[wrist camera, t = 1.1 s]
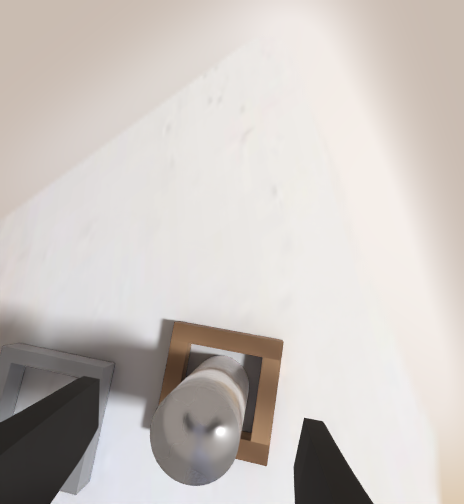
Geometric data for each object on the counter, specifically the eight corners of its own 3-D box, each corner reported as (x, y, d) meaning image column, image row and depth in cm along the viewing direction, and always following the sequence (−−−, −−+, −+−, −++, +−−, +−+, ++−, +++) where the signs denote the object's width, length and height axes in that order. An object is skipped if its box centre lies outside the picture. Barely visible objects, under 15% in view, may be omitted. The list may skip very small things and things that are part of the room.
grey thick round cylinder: (244, 421, 20) (231, 496, 12) (188, 409, 21) (141, 473, 13) (253, 361, 21) (246, 396, 13) (198, 350, 21) (160, 377, 14)
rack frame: (89, 481, 21) (75, 495, 19) (-11, 454, 22) (-31, 465, 20) (115, 363, 22) (104, 367, 20) (19, 343, 23) (2, 345, 21)
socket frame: (266, 456, 20) (266, 466, 18) (158, 430, 21) (152, 438, 20) (282, 340, 21) (283, 342, 20) (179, 321, 22) (174, 322, 21)
